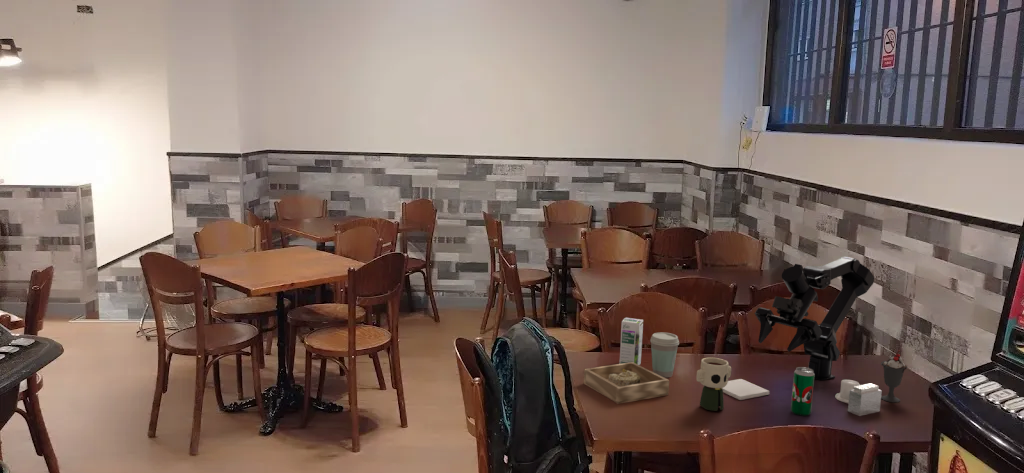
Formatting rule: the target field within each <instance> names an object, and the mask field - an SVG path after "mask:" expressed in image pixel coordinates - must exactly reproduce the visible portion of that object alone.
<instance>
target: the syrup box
mask: <svg viewBox="0 0 1024 473" xmlns="http://www.w3.org/2000/svg"><path fill="white" fill-rule="evenodd" d="M620 328H621V329H620V350H619V361H618V362H619V363H618V364H622V363H629V362H634V363H636V364H638V365H640V366H641V362H642V351H643V350H642V348H643V331H644V319H640V318H632V317H624V318H623V319H622V320H621V327H620Z"/></svg>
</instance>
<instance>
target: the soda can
mask: <svg viewBox="0 0 1024 473" xmlns="http://www.w3.org/2000/svg"><path fill="white" fill-rule="evenodd" d="M814 377H815V374H814V373H813V370H812V369H810V368H808V366H798V367H795V370H794V371H793V380H792V391H791V392H792V393H791V402H790V411H791V412H792V413H793V414H794V415H796V416H799V417H800V416H803V417H806V416H807V417H808V416H810V415H811V414H812V407H813V396H814V386H815V378H814Z"/></svg>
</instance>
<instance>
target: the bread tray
mask: <svg viewBox="0 0 1024 473" xmlns="http://www.w3.org/2000/svg"><path fill="white" fill-rule="evenodd" d="M623 369H625V370H627V371H631V372H634V373H636V374H638V375H639V376H640V378H641V380H640V384H633V385H627V386H621V387H619V386H617V385H616V384H614V383H612V382H610V381H608V378H609V375H610V374H618V375H619V374H620V373H622V371H623ZM583 384H584V385H586V386H587V387H589V388H591V389H592V390H594V391H596V392H597V393H599V394H601V395H602V396H604V397H606V398H607V399H609V400H611V401H613V402H614V403H616V404H618V405H619V404H624V403H632V402H636V401H642V400H648V399H653V398H657V397H664V396H668V395H669V387H670V380H669V379H668V378H664V377H662V376H660V375H658V374H656V373H654V372H653V370H649V369H647V368H646V367H643V366H642V365H641V364H640V365H638V364H636V363H634V362H629V363H622V364H619V363H616V364H610V365H603V366H597V367H588V368H585V369H584V371H583Z"/></svg>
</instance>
